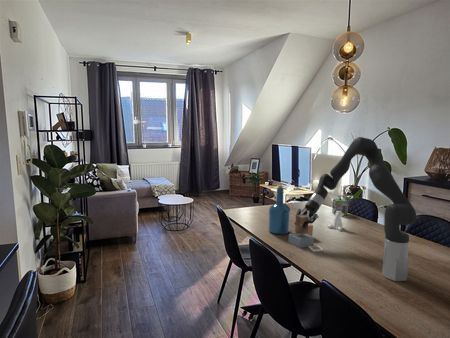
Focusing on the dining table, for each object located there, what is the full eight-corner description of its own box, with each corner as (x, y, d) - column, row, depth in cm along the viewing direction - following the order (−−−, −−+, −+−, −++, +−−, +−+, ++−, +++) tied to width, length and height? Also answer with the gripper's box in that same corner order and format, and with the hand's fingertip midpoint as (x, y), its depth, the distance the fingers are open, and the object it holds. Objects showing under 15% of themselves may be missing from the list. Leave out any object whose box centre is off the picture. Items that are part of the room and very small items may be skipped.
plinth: (313, 245, 172) (313, 237, 171) (299, 248, 168) (299, 239, 167) (302, 239, 181) (302, 231, 180) (288, 242, 177) (288, 234, 176)
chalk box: (347, 216, 232) (349, 197, 230) (335, 215, 232) (336, 196, 230) (343, 212, 241) (344, 194, 239) (331, 212, 241) (332, 194, 239)
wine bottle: (264, 231, 194) (265, 185, 190) (275, 226, 203) (277, 183, 199) (282, 236, 184) (284, 188, 180) (293, 231, 194) (295, 185, 190)
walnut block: (307, 233, 173) (308, 216, 171) (301, 234, 170) (302, 217, 169) (301, 230, 177) (301, 214, 176) (295, 232, 174) (295, 215, 173)
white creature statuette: (326, 227, 203) (327, 210, 201) (333, 225, 208) (334, 208, 207) (340, 231, 196) (341, 213, 194) (346, 228, 201) (347, 211, 200)
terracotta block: (312, 238, 183) (312, 225, 182) (304, 238, 182) (305, 225, 181) (308, 235, 188) (309, 222, 187) (301, 235, 187) (301, 223, 186)
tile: (323, 250, 164) (323, 249, 164) (313, 251, 163) (313, 250, 163) (318, 246, 169) (318, 245, 169) (308, 247, 169) (308, 245, 168)
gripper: (302, 196, 181) (287, 219, 176) (321, 201, 169) (306, 226, 164) (307, 204, 185) (293, 226, 179) (327, 209, 173) (312, 233, 168)
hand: (299, 226), depth 172 cm, fingers closed on walnut block, 5 cm apart
